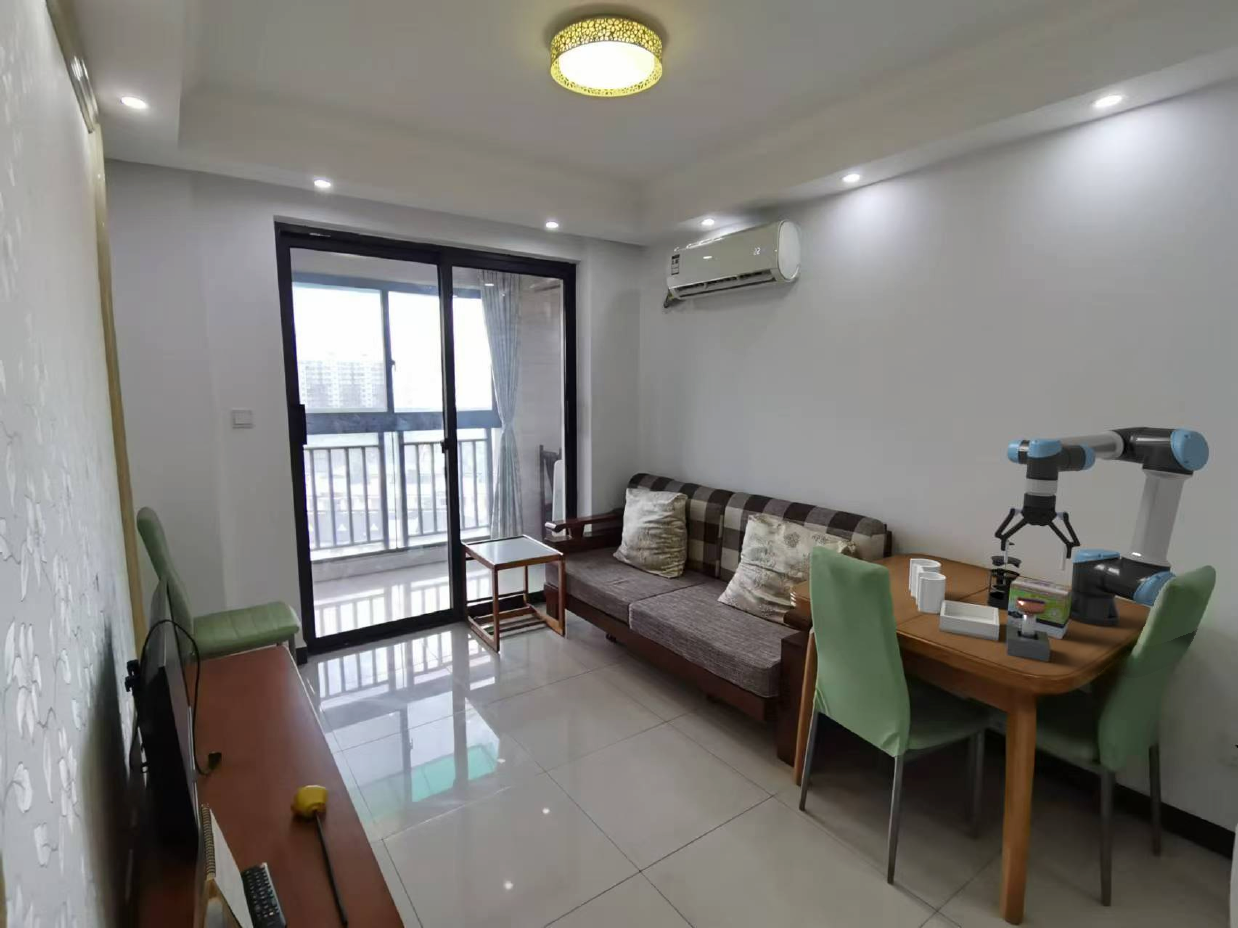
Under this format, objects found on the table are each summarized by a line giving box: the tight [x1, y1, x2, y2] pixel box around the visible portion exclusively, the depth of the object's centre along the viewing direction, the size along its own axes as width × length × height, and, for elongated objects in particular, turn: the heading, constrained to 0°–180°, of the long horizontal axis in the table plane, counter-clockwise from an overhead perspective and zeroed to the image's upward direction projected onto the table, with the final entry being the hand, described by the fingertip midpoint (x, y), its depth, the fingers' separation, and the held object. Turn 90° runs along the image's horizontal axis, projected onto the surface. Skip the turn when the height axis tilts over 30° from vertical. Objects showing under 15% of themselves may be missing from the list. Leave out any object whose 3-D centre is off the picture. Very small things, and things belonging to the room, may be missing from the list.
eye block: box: [1005, 625, 1051, 663], centre depth 176 cm, size 10×10×5 cm
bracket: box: [908, 558, 947, 615], centre depth 216 cm, size 25×10×12 cm, turn 160°
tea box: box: [1006, 576, 1072, 640], centre depth 191 cm, size 15×10×15 cm
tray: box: [938, 599, 1000, 642], centre depth 194 cm, size 16×16×5 cm
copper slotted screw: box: [1016, 597, 1045, 639], centre depth 176 cm, size 7×7×16 cm
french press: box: [986, 541, 1022, 611], centre depth 211 cm, size 12×9×23 cm
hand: (1033, 565), depth 173 cm, fingers open, 13 cm apart
